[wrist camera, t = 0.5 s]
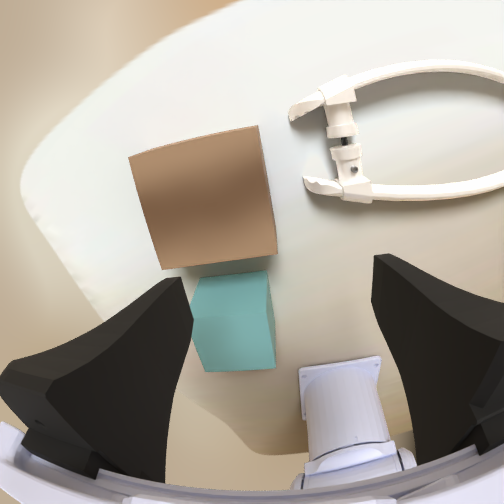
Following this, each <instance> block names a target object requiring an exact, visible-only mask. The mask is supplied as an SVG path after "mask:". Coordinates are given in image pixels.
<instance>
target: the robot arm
mask: <svg viewBox="0 0 504 504" xmlns="http://www.w3.org/2000/svg"><path fill="white" fill-rule="evenodd" d="M371 303H372V306H373V310H374V313H375V316H376V319H377V322H378V325H379V327H380V329H381V331H382V334H383V336H384V338H385V340H386V342H387V345H388V347H389V349H390V351H391V354H392V356H393V358H394V360H395V363H396V365H397V367H398V370H399V373H400V375H401V379H402V382H403V386H404V390H405V393H406V397H407V402H408V406H409V411H410V415H411V421H412V427H413V433H414V439H415V448H416V458H417V465H416V461H415V459H414V456H413V454H412V452H411V451H409V450H406V449H405V448H400V449H398V450H397V451H396V448H395V443H394V441H391V439H390V436H389V432H388V428H387V424H386V420H385V417H384V413H383V410H382V406H381V403H380V399H379V396H378V392H377V389H376V385H377V380H378V376H379V371H380V366H381V361H382V360H381V357H380V356H373V357H368V358H362V359H357V360H351V361H345V362H338V363H332V364H325V365H317V366H309V367H302V368H300V369H299V371H298V373H299V385H300V397H301V409H302V419H303V420H305V421H306V420H307V433H308V447H309V462H307V463H305V464H304V469H305V473H301V474H298V476H296V478H295V480H294V481H293V482H292V484H291V487H290V490H278V491H232V490H215V489H203V488H193V487H185V486H177V485H171V484H165V465H166V449H167V437H168V429H169V421H170V414H171V408H172V403H173V397H174V392H175V389H176V385H177V382H178V379H179V376H180V373H181V370H182V367H183V364H184V360H185V357H186V354H187V351H188V348H189V345H190V341H191V336H192V330H193V323H194V318H193V315H192V312H191V309H190V306H189V302H188V299H187V296H186V293H185V289H184V286H183V283H182V279H181V277H173V278H166V279H164V280H162V281H160V282H159V283H157V284H156V285H155V286H153V287H152V288H151V289H149V290H148V291H147V292H145V293H144V294H143V295H141V296H140V297H139V298H137V299H136V300H135V301H134V302H132V303H131V304H130V305H128V306H127V307H125V308H124V309H123V310H121V311H120V312H118V313H117V314H116V315H114V316H113V317H111V318H110V319H108V320H107V321H105V322H104V323H102V324H101V325H99V326H97V327H96V328H94V329H92V330H91V331H89V332H87V333H85V334H83V335H81V336H79V337H77V338H75V339H73V340H71V341H69V342H67V343H65V344H62V345H60V346H57V347H55V348H52V349H50V350H47V351H44V352H42V353H38V354H35V355H32V356H28V357H24V358H21V359H17V360H13V361H11V362H10V363H9V364H8V365H7V367H6V368H5V370H4V371H3V372H2V374H1V375H0V396H1V398H2V399H3V400H4V402H5V403H6V404H7V405H8V406H9V408H10V409H11V410H12V411H13V412H14V413H15V414H16V415H17V416H18V418H19V419H20V420H21V421H22V422H23V423H24V424H25V425H26V426H27V427H28V428H29V429H28V431H27V432H26V434H25V433H24V432H22V431H21V430H19V429H18V428H16V427H13V426H12V425H10V424H8V423H6V422H1V424H0V488H1V489H3V490H4V491H5V492H6V493H8V494H9V495H10V496H12V497H13V498H15V499H16V500H17V501H19V502H20V503H21V504H504V303H501V302H497V301H494V300H491V299H487V298H484V297H481V296H478V295H475V294H472V293H469V292H467V291H464V290H462V289H459V288H457V287H455V286H452V285H450V284H448V283H446V282H444V281H442V280H440V279H438V278H436V277H434V276H432V275H430V274H428V273H426V272H424V271H422V270H420V269H419V268H417V267H415V266H413V265H411V264H409V263H408V262H406V261H404V260H402V259H400V258H398V257H396V256H394V255H391V254H382V255H374V265H373V282H372V296H371Z"/></svg>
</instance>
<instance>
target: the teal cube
mask: <svg viewBox="0 0 504 504" xmlns="http://www.w3.org/2000/svg"><path fill="white" fill-rule="evenodd" d="M190 309H191V312H192V315H193V318H194V323H193V330H192V336H191V337H192V339H193V342H194V345H195V347H196V350H197V352H198V355H199V357H200V360H201V362H202V365H203V367H204V370H205V372H226V371H245V370H260V369H272V368H276V344H275V320H274V313H273V307H272V300H271V294H270V288H269V281H268V275H267V270H265V271H256V272H248V273H239V274H230V275H221V276H212V277H203V278H200V280H199V282H198V285H197V288H196V290H195V293H194V296H193V298H192V301H191V304H190Z"/></svg>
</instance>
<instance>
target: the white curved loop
mask: <svg viewBox="0 0 504 504" xmlns="http://www.w3.org/2000/svg"><path fill="white" fill-rule="evenodd" d="M423 72H456V73H466V74H471V75H476V76H480V77H484V78H488V79H491V80H494V81H496V82H499V83H502V84H504V72H502V71H499V70H497V69H494V68H491V67H487V66H484V65H480V64H476V63H471V62H464V61H456V60H422V61H413V62H404V63H398V64H394V65H389V66H385V67H381V68H377V69H373V70H369V71H366V72H363V73H361V74H358V75H355V76H352V77H348V76H347V75H345V74H344V75H342V76H340V77H338V78H336V79H334V80H332V81H330V82H328V83H326V84H324V85H322V86H320V87H318V88H317V92H316V93H314V94H312V95H310V96H308V97H306V98H304V99H303V100H301V101H299V102H298V103H296V104H295V105H293V106H292V107H291V108H290V109H289V111H288V115H289V119H290V122H291V121H294V120H295V119H297V118H298V117H300V116H303V115H305V114H306V113H308V112H309V111H312V110H314V109H315V108H317V107H319V106H320V107H321V106H324V109H325V113H326V118H327V122H328V126H327V127H326V131H327V137H328V138H340V137H341V143H342V145H338V146H334V147H331V148H330V152H331V155H332V159H333V160H336V166H337V171H338V177H339V178H335V181H334V180H326V179H320V178H313V177H307V176H303V178H304V183H305V186H306V187H307V189H308V190H310V191H311V192H313V193H316V194H322V195H328V196H338V197H340V198H341V200H345V201H353V202H360V203H368V204H371V203H372V201H373V200H387V201H428V200H442V199H452V198H459V197H466V196H473V195H477V194H481V193H485V192H490V191H493V190H496V189H499V188H502V187H504V170H502V171H500V172H498V173H495V174H491V175H488V176H485V177H481V178H478V179H473V180H468V181H463V182H455V183H447V184H437V185H418V186H409V185H377V184H371V181H370V180H369V179H367V178H366V177H364V176H363V171H362V164H361V158H360V157H361V156H362V147H361V144H357V143H353V144H348V143H347V136H353V135H357V134H359V131H358V127H357V123H356V122H354V121H353V117H352V112H351V107H350V103H349V102H355V101H356V96H355V92H354V90H355V89H358V88H361V87H363V86H366V85H369V84H372V83H375V82H377V81H380V80H384V79H388V78H392V77H396V76H401V75H408V74H415V73H423ZM340 151H341V152H340Z"/></svg>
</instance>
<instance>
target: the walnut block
mask: <svg viewBox="0 0 504 504" xmlns="http://www.w3.org/2000/svg"><path fill="white" fill-rule="evenodd" d="M128 158H129V162H130V166H131V170H132V174H133V178H134V181H135V185H136V189H137V192H138V196H139V199H140V203H141V206H142V209H143V213H144V216H145V219H146V223H147V226H148V229H149V232H150V235H151V239H152V242H153V245H154V248H155V251H156V254H157V257H158V260H159V262H160V265H161V268H162V270H166V269H173V268H180V267H188V266H195V265H202V264H210V263H217V262H224V261H231V260H239V259H246V258H253V257H260V256H267V255H274V254H278V251H277V237H276V226H275V220H274V214H273V208H272V202H271V196H270V190H269V184H268V178H267V173H266V167H265V161H264V156H263V150H262V145H261V139H260V134H259V128H258V125H256V126H250V127H245V128H239V129H234V130H229V131H224V132H219V133H214V134H209V135H205V136H201V137H196V138H192V139H188V140H184V141H180V142H176V143H172V144H168V145H164V146H161V147H157V148H153V149H150V150H147V151H145V152H142V153H139V154H136V155H133V156H131V157H128Z"/></svg>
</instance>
